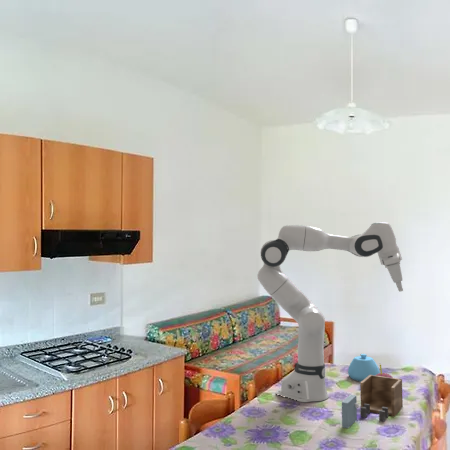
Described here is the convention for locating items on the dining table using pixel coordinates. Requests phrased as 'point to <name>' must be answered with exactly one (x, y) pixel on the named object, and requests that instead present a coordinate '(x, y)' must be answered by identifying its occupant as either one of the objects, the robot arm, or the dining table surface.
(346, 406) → the door
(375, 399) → the cabinet
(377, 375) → the cupcake
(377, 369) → the sugar bowl
